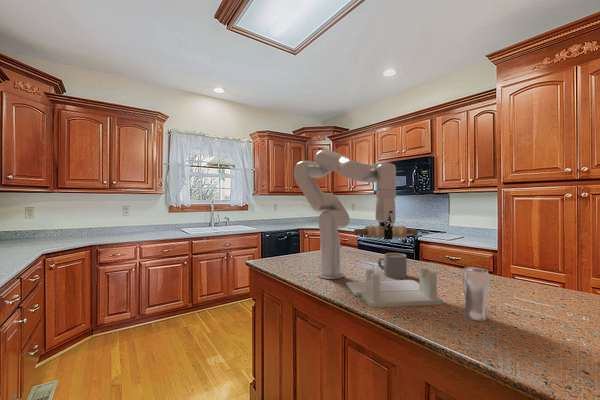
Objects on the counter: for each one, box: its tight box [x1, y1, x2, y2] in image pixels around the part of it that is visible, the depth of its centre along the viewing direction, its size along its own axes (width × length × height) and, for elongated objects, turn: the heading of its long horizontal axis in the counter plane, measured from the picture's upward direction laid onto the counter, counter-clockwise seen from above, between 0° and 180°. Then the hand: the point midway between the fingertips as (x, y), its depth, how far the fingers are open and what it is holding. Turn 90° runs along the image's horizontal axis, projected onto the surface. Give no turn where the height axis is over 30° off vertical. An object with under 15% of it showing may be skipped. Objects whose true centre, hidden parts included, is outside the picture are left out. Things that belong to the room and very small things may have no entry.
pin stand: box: [361, 267, 443, 308], centre depth 101 cm, size 10×26×11 cm, turn 95°
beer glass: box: [462, 266, 490, 322], centre depth 87 cm, size 7×7×15 cm
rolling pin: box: [353, 225, 418, 239], centre depth 114 cm, size 26×5×5 cm, turn 95°
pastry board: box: [345, 279, 419, 297], centre depth 114 cm, size 13×30×1 cm, turn 95°
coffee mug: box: [377, 252, 408, 280], centre depth 134 cm, size 13×10×10 cm
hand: (385, 237), depth 114 cm, fingers closed on rolling pin, 4 cm apart
